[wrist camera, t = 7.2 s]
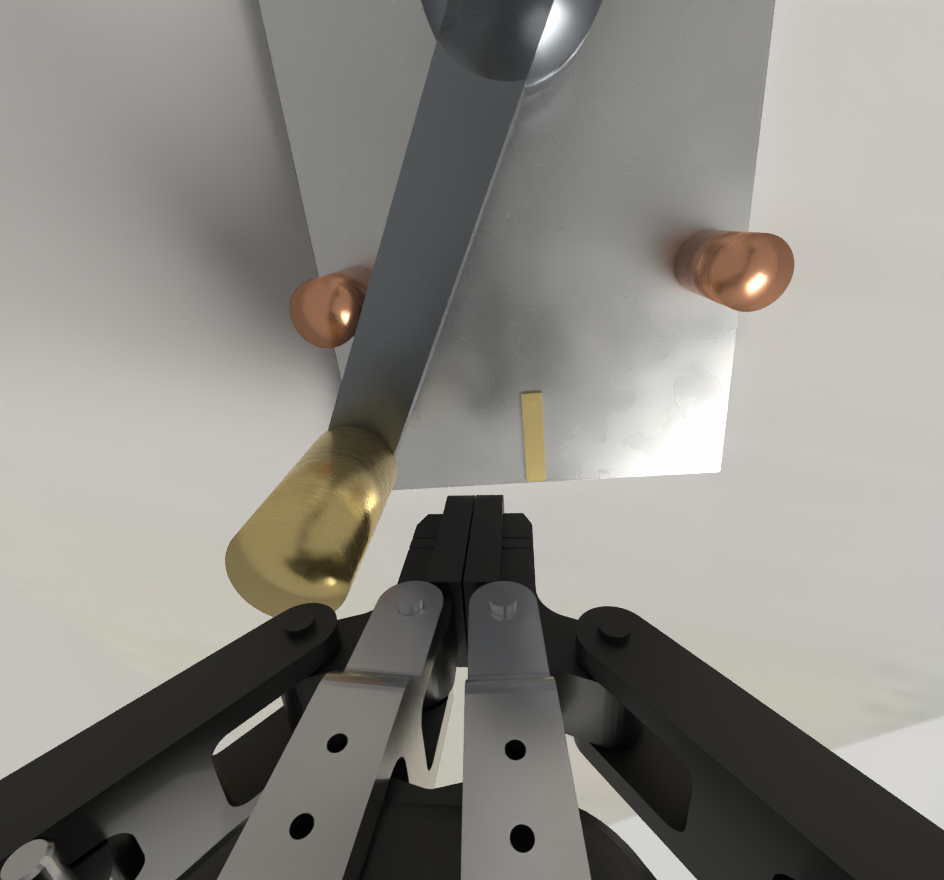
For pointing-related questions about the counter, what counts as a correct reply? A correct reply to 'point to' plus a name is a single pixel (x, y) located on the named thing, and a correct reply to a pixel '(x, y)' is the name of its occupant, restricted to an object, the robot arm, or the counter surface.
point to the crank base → (551, 235)
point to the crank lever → (406, 294)
